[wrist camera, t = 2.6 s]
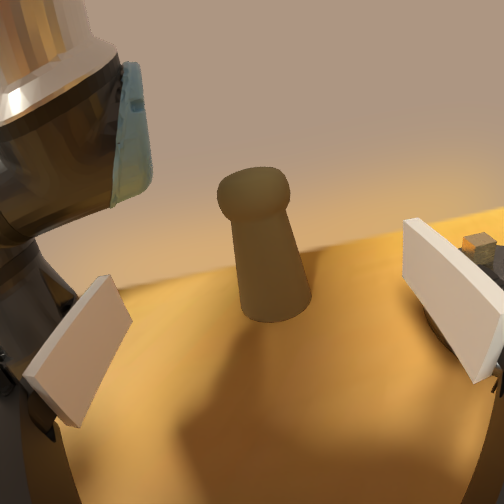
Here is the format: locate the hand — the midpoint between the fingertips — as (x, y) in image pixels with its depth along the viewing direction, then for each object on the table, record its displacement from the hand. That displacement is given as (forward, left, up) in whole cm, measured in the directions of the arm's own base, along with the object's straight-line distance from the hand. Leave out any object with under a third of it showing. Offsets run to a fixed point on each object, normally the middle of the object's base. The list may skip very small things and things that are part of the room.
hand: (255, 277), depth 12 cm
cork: (-5, +9, -9) cm, 13 cm away
